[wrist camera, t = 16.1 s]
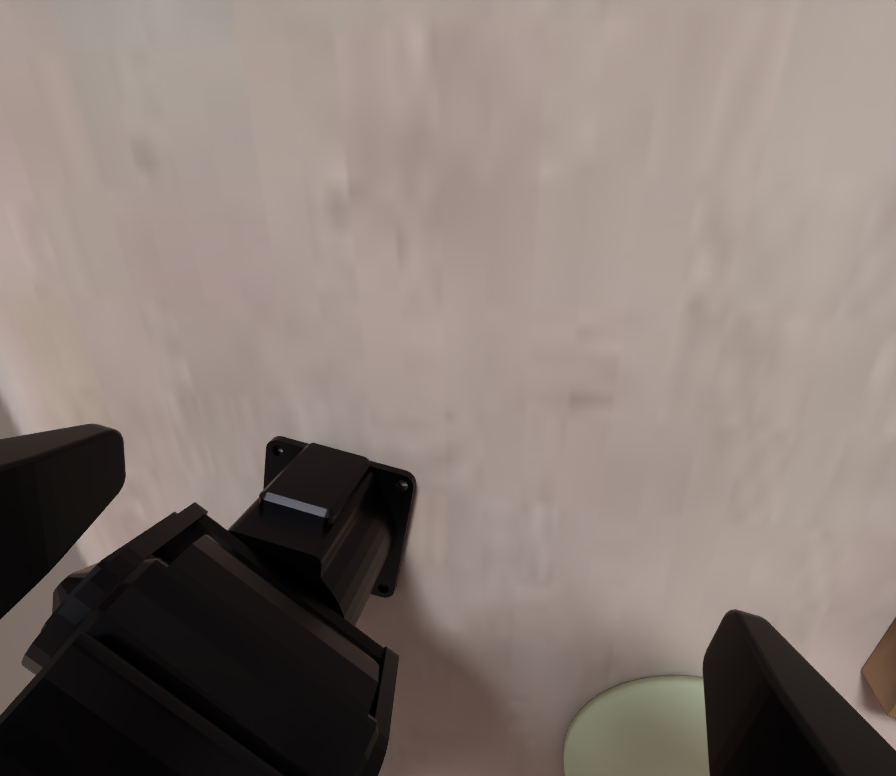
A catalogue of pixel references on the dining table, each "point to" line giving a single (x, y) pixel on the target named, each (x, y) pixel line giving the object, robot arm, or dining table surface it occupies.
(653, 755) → the felt coaster
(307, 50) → the dining table surface
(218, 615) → the robot arm
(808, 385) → the dining table surface
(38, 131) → the dining table surface
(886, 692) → the frame
